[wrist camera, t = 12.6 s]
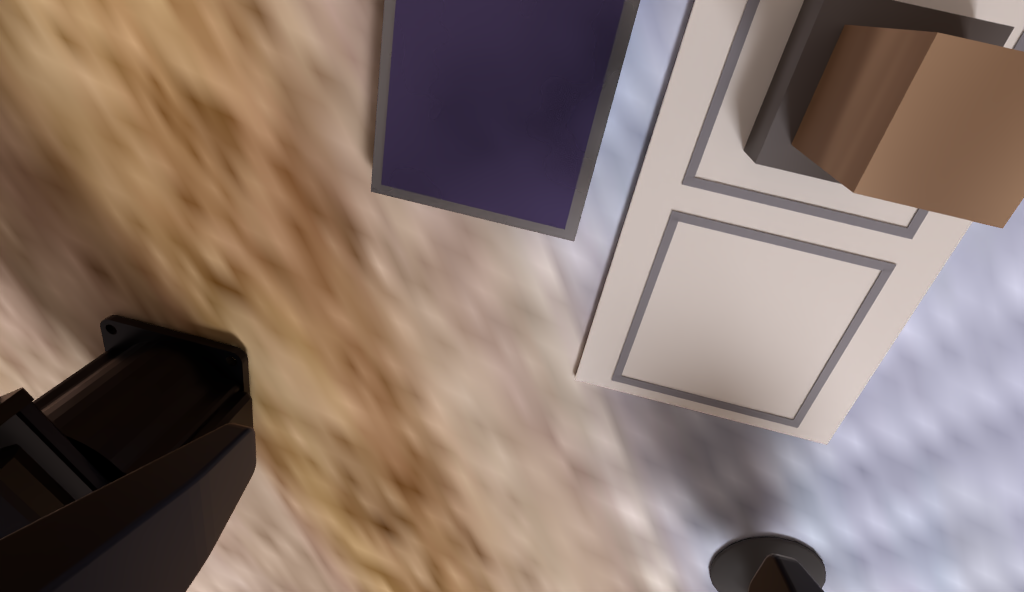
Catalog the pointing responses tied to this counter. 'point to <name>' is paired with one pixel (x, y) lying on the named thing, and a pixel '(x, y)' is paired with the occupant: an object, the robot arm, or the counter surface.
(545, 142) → the ink pad
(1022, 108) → the stamp
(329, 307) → the counter surface
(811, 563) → the sundae
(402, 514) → the counter surface
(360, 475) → the counter surface
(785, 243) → the form sheet
